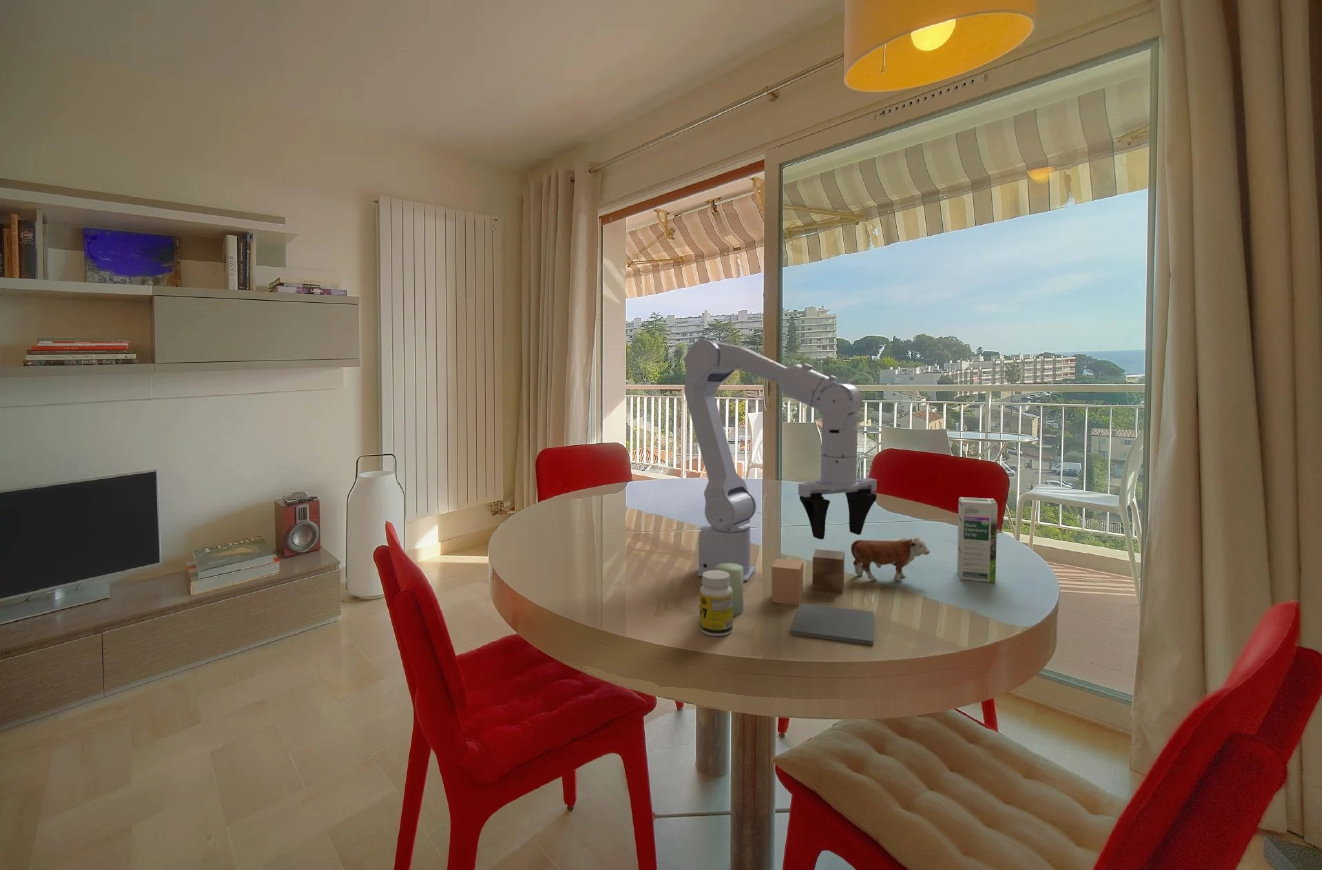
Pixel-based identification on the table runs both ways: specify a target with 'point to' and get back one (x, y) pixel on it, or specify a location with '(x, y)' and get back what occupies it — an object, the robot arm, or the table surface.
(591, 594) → the table surface
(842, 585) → the walnut block
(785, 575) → the terracotta brick
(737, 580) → the sage cylinder
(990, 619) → the table surface
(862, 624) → the slate mat
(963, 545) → the syrup box
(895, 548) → the bull figurine
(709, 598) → the supplement bottle
